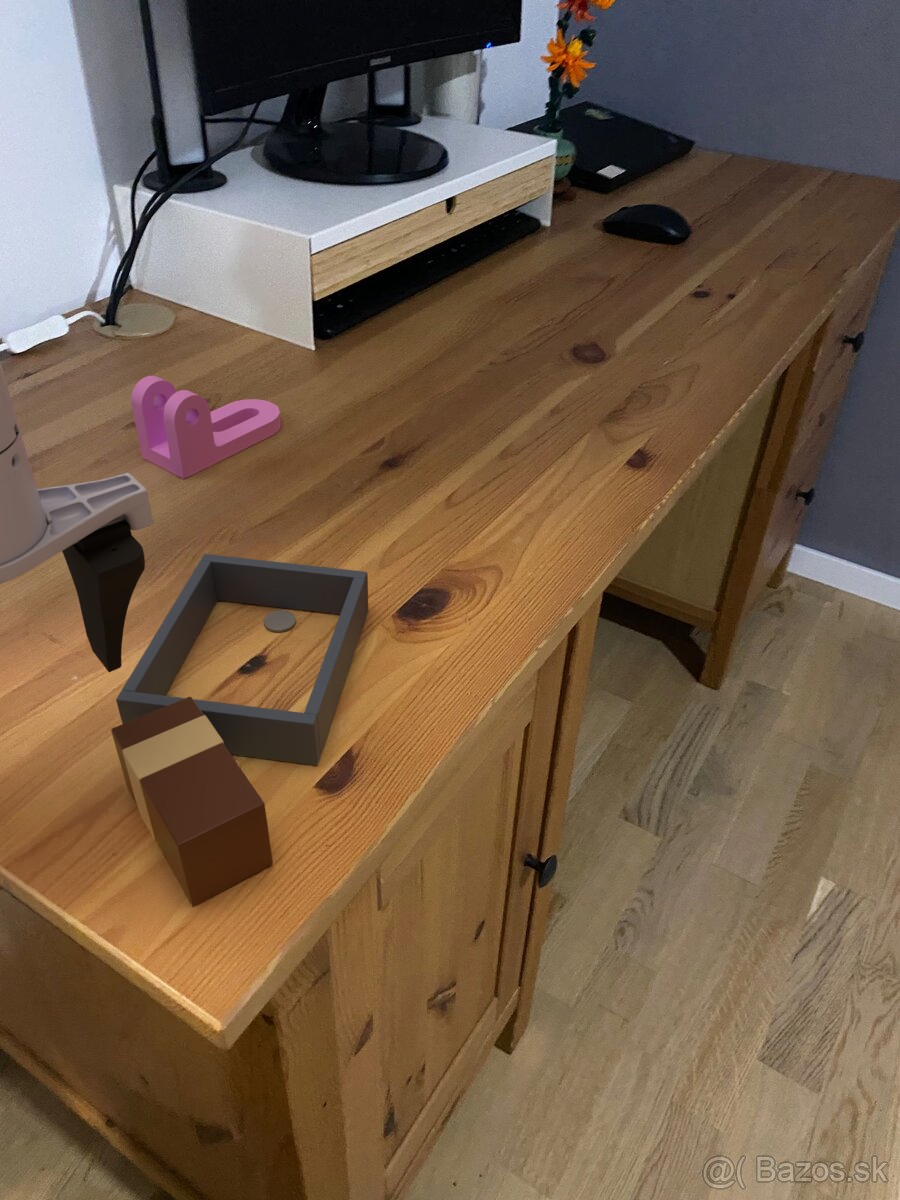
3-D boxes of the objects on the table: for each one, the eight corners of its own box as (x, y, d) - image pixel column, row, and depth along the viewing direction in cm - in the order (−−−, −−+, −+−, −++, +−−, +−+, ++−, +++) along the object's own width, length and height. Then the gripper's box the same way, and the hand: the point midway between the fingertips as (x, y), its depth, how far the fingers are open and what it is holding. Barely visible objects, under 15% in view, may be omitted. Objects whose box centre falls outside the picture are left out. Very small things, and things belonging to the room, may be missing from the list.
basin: (126, 741, 54) (115, 699, 52) (210, 592, 65) (203, 553, 63) (317, 766, 53) (314, 724, 51) (368, 611, 64) (367, 571, 62)
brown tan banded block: (191, 908, 46) (176, 845, 42) (126, 791, 51) (109, 728, 48) (274, 864, 48) (265, 802, 45) (203, 756, 53) (191, 694, 50)
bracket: (183, 479, 78) (171, 404, 73) (142, 457, 80) (127, 384, 76) (293, 424, 86) (287, 354, 81) (252, 407, 88) (244, 338, 84)
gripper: (82, 360, 42) (137, 594, 50) (-297, 454, 34) (-157, 711, 43) (150, 418, 37) (197, 663, 46) (-265, 540, 30) (-117, 805, 38)
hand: (30, 692), depth 44 cm, fingers open, 7 cm apart
